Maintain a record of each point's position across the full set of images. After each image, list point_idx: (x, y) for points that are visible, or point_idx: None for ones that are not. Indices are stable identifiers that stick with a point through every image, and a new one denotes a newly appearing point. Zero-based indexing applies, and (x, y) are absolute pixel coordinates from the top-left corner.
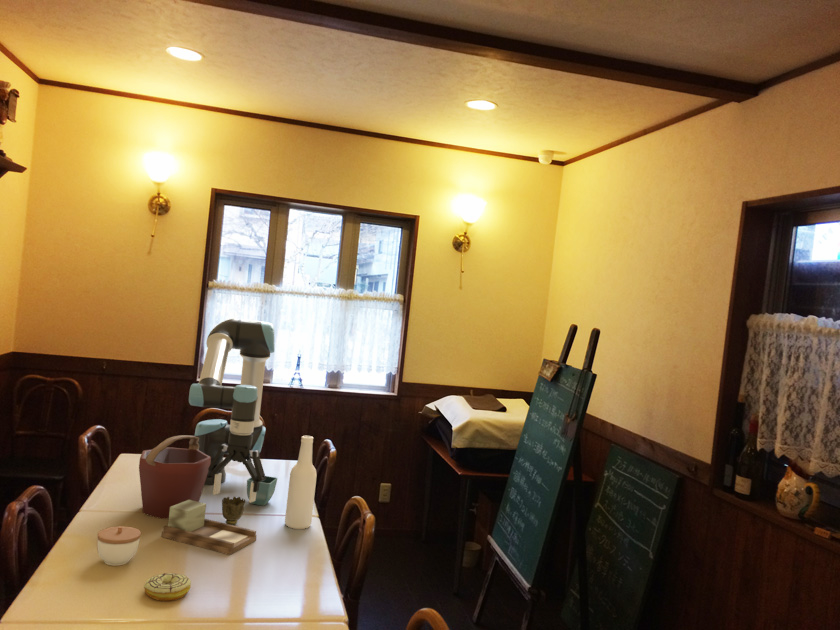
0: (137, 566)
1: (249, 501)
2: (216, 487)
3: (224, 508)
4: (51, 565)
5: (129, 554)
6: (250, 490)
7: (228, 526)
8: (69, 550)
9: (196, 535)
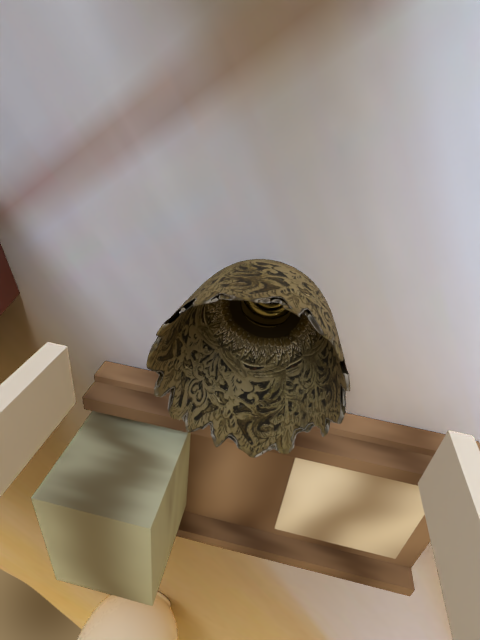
0: (202, 612)
1: (424, 491)
2: (36, 438)
3: (222, 406)
4: (67, 612)
5: None
6: (449, 608)
7: (319, 459)
8: (27, 569)
9: (246, 551)
